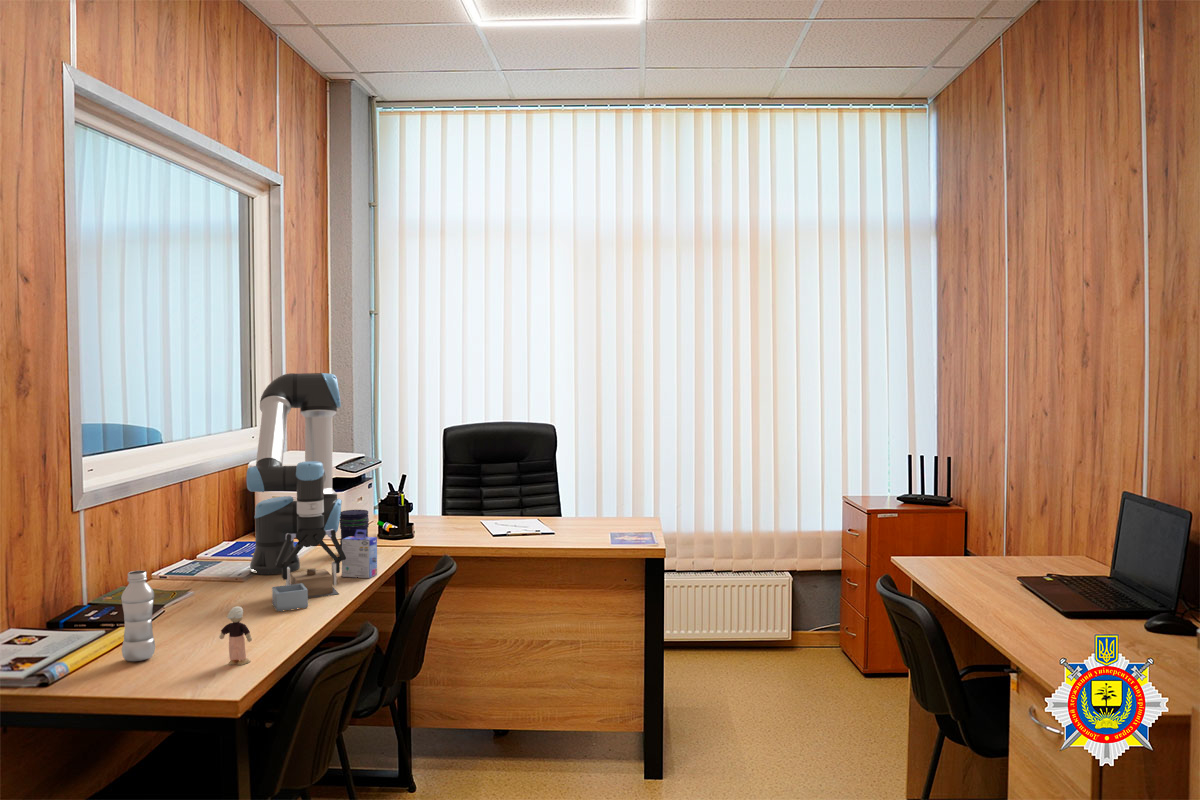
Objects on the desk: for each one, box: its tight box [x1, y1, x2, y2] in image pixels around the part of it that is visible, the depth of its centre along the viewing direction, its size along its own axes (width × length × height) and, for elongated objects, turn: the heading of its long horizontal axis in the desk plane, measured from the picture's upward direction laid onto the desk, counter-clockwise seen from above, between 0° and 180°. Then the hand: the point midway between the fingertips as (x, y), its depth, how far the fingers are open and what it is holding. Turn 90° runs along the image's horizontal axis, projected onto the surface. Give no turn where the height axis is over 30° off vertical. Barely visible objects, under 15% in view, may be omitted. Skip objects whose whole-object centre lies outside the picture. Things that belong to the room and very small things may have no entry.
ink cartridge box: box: [341, 529, 378, 579], centre depth 263 cm, size 10×6×14 cm, turn 78°
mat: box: [308, 587, 340, 599], centre depth 245 cm, size 13×13×1 cm
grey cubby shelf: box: [271, 583, 309, 612], centre depth 230 cm, size 8×8×5 cm
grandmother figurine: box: [218, 606, 253, 666], centre depth 186 cm, size 8×4×13 cm, turn 92°
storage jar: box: [339, 509, 370, 548], centre depth 294 cm, size 10×10×15 cm
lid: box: [290, 568, 334, 596], centre depth 244 cm, size 10×10×6 cm
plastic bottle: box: [120, 570, 156, 662], centre depth 188 cm, size 6×7×20 cm
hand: (311, 587), depth 244 cm, fingers open, 12 cm apart
